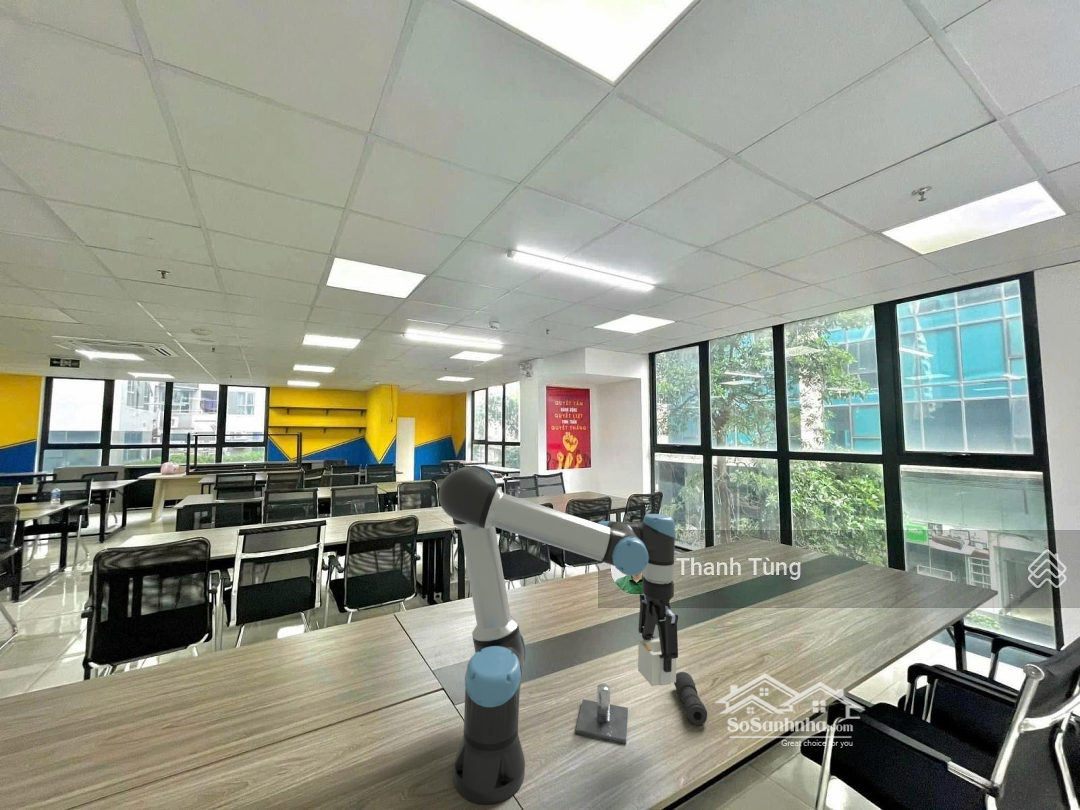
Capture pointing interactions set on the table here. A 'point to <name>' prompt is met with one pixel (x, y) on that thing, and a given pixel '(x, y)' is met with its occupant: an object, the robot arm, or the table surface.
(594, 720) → the shaft block
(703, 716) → the flashlight
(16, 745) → the table surface
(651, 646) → the white hollow block
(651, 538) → the robot arm
